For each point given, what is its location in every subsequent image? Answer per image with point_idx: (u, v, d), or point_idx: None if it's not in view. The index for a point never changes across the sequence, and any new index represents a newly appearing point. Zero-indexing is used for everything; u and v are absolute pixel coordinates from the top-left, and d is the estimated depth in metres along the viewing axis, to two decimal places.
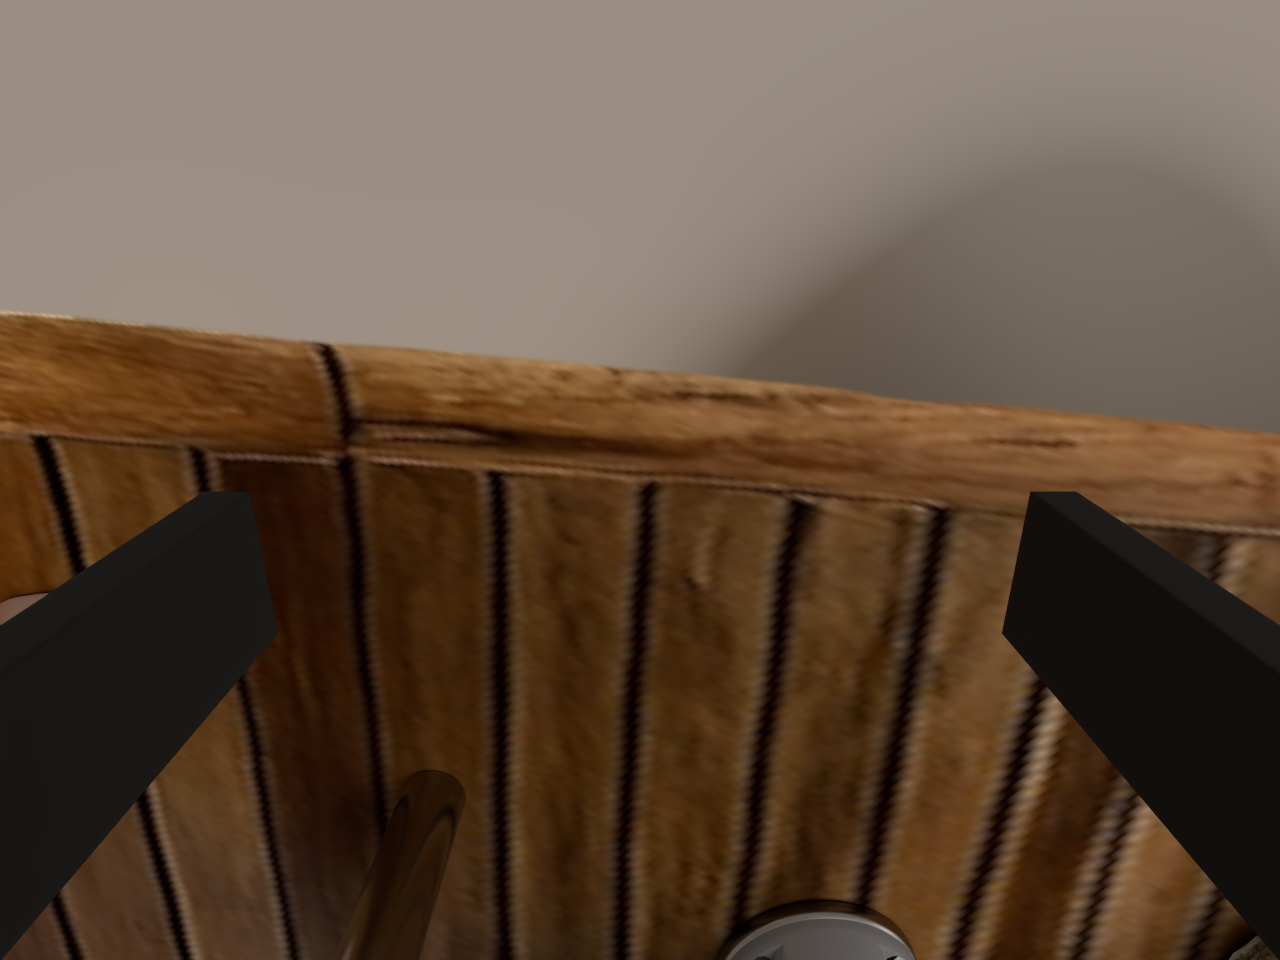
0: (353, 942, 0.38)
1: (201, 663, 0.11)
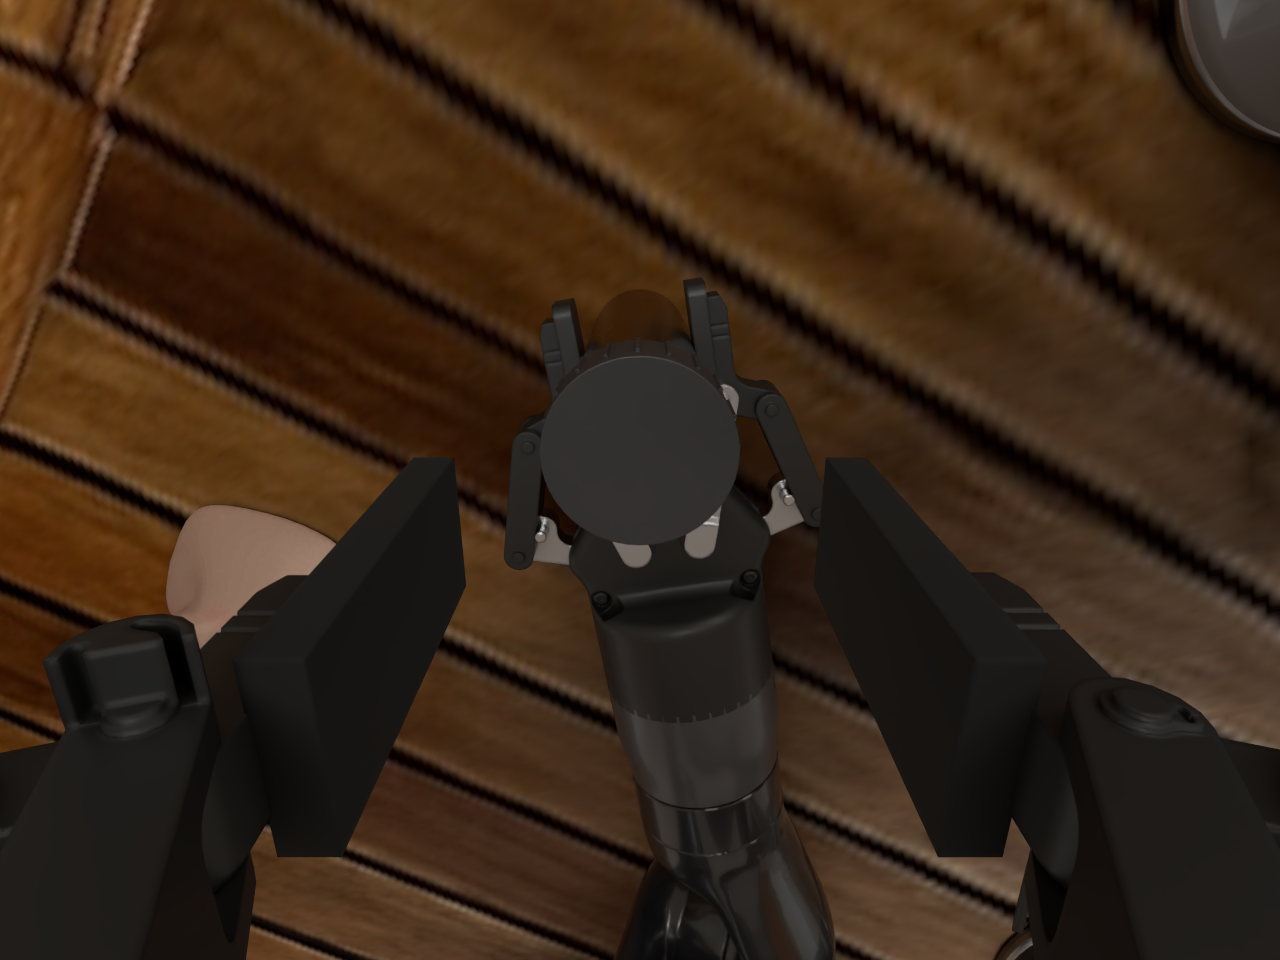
0: None
1: (434, 603, 0.12)
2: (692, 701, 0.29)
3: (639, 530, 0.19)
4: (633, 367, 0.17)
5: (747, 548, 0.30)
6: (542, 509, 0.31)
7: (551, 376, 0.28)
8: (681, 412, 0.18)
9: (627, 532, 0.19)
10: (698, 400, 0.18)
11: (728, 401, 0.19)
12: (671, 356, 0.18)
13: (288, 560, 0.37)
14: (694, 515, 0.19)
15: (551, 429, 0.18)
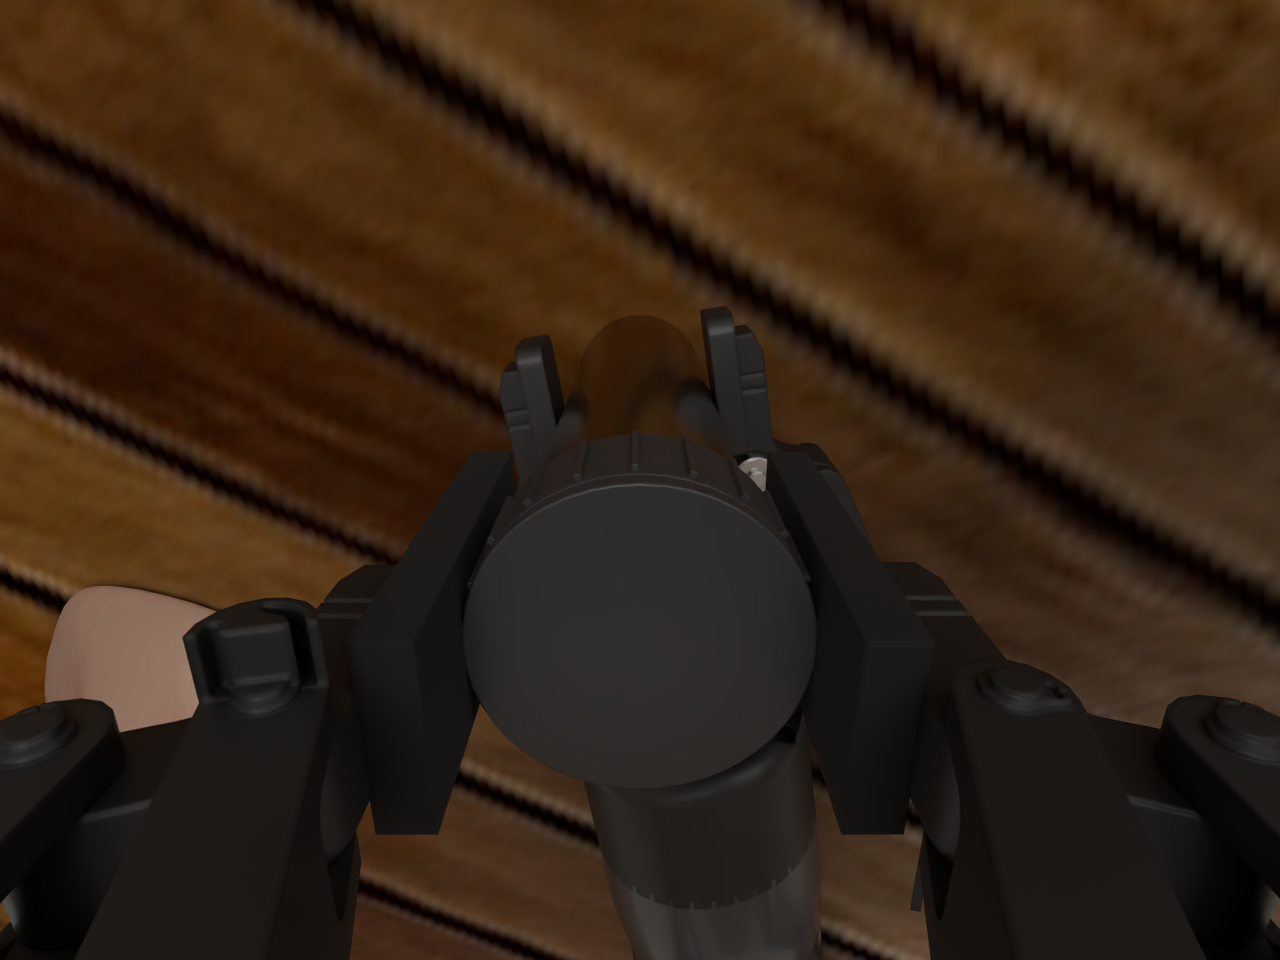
0: None
1: None
2: (711, 883, 0.21)
3: (639, 766, 0.11)
4: (628, 504, 0.09)
5: None
6: None
7: (516, 444, 0.20)
8: (715, 579, 0.10)
9: (618, 769, 0.11)
10: (746, 559, 0.10)
11: (788, 535, 0.12)
12: (695, 478, 0.10)
13: None
14: (734, 743, 0.11)
15: (481, 608, 0.10)
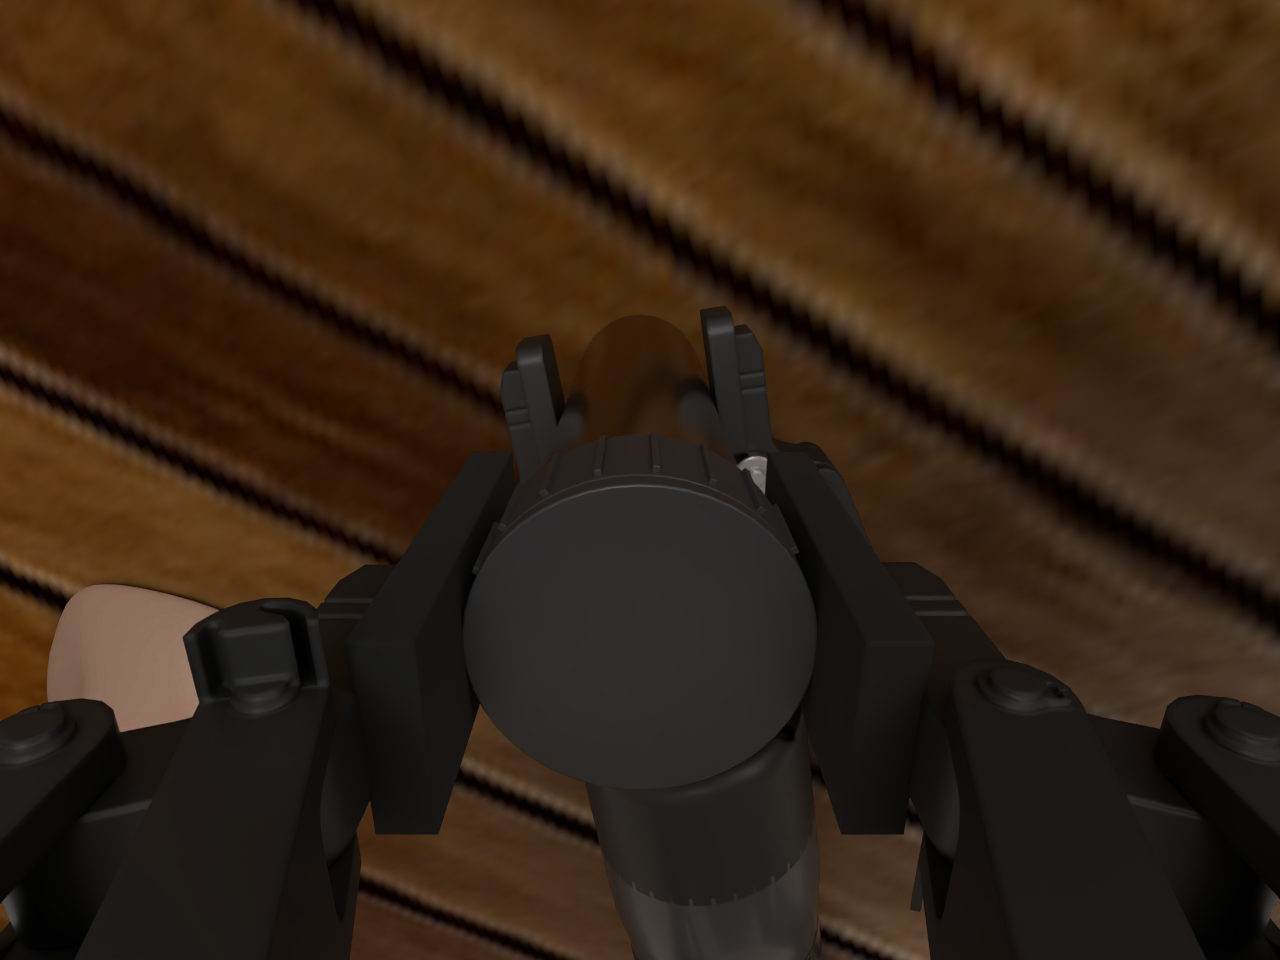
0: None
1: None
2: (711, 880, 0.22)
3: (784, 664, 0.10)
4: (481, 644, 0.10)
5: None
6: None
7: (517, 443, 0.20)
8: (567, 578, 0.10)
9: (784, 683, 0.10)
10: (547, 549, 0.10)
11: (598, 442, 0.11)
12: (478, 569, 0.10)
13: None
14: (772, 573, 0.10)
15: (579, 769, 0.11)
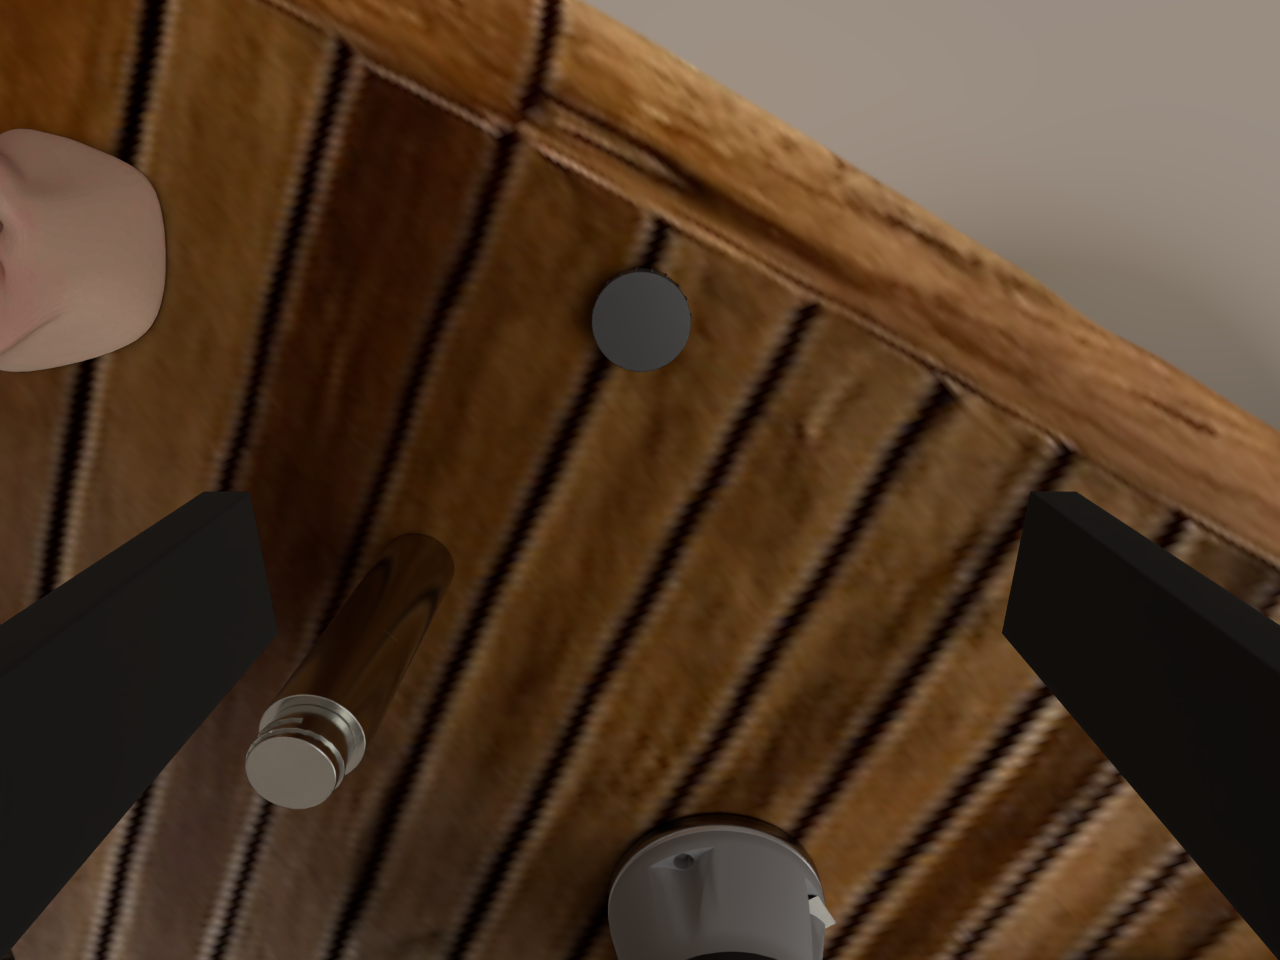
0: (334, 652, 0.31)
1: (201, 663, 0.11)
2: None
3: (675, 344, 0.37)
4: (601, 302, 0.36)
5: None
6: None
7: None
8: (633, 293, 0.36)
9: (673, 350, 0.37)
10: (632, 283, 0.36)
11: None
12: (608, 283, 0.36)
13: (119, 283, 0.37)
14: (683, 316, 0.36)
15: (607, 352, 0.37)
